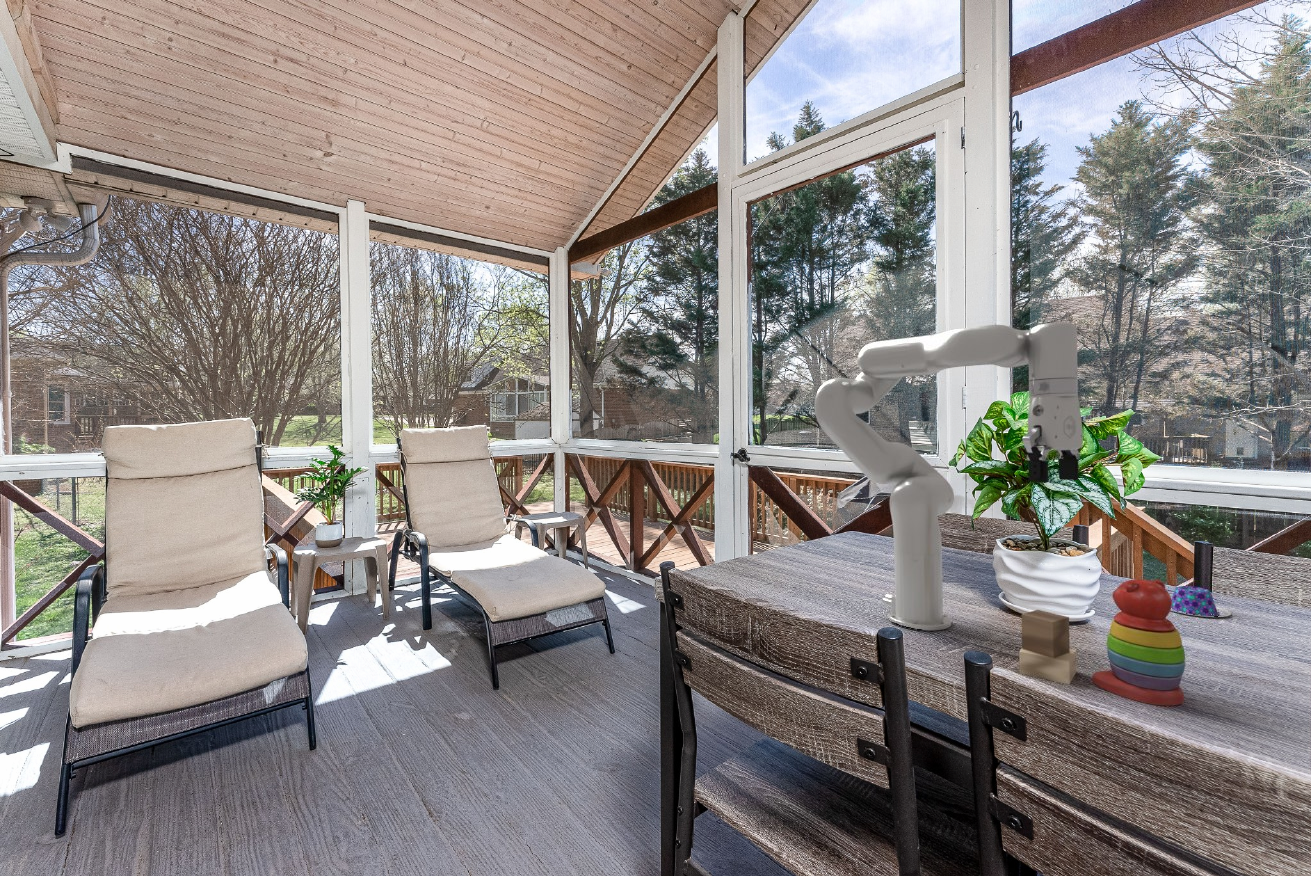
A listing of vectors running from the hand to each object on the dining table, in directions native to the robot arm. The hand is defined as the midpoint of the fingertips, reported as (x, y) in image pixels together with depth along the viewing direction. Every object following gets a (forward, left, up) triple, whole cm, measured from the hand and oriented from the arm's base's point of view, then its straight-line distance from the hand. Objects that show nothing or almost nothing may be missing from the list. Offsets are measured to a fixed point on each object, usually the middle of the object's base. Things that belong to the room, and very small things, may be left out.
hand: (1053, 480), depth 108 cm
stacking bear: (+16, -7, -32) cm, 37 cm away
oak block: (+4, -12, -32) cm, 35 cm away
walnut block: (+4, -12, -28) cm, 31 cm away
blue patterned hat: (+3, +51, -32) cm, 60 cm away
